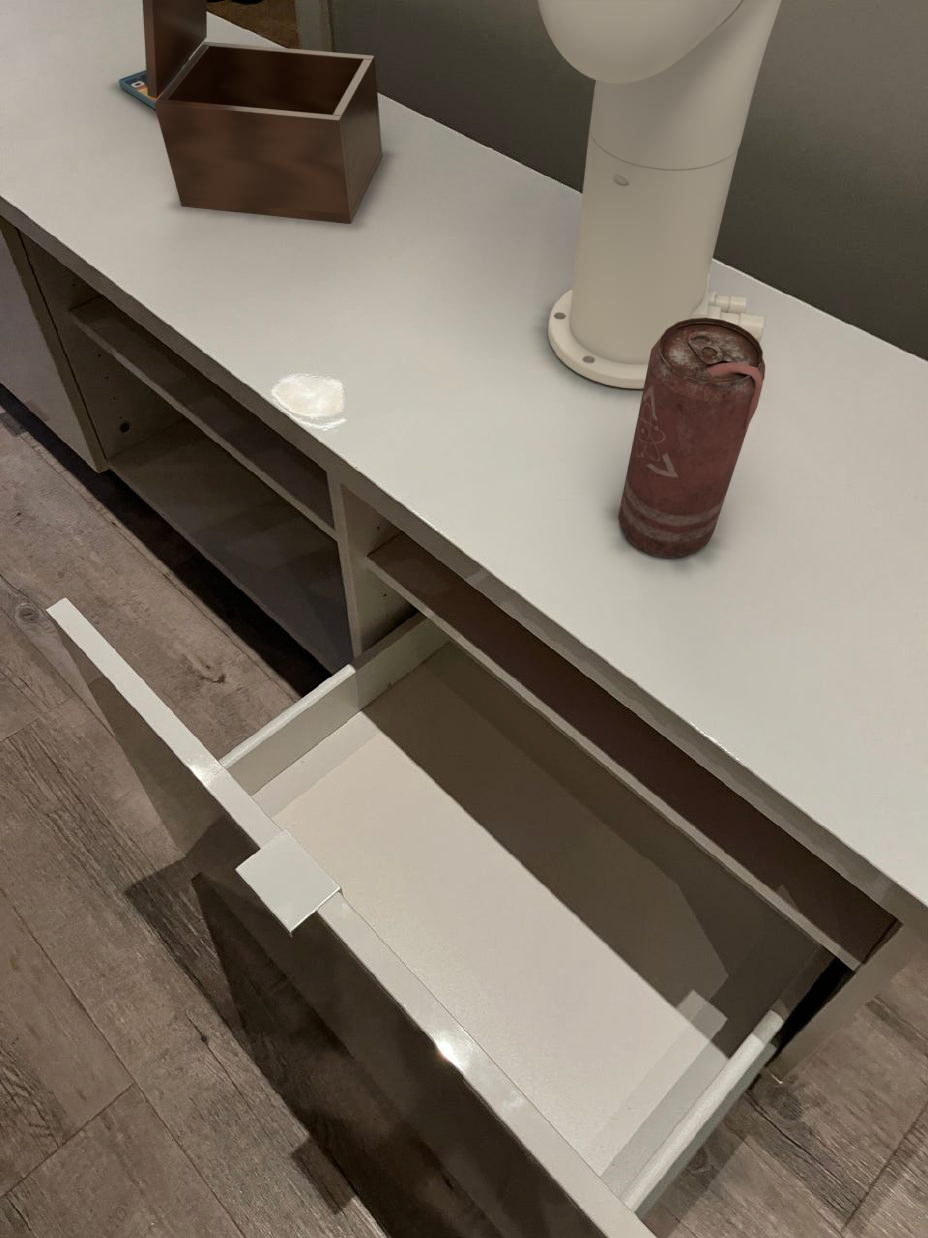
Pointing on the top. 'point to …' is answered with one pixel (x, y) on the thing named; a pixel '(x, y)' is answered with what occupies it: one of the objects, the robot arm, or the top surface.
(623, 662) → the top surface
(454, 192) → the top surface
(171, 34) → the lid
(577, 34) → the robot arm
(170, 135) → the chest
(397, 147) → the top surface
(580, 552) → the top surface
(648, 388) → the can
